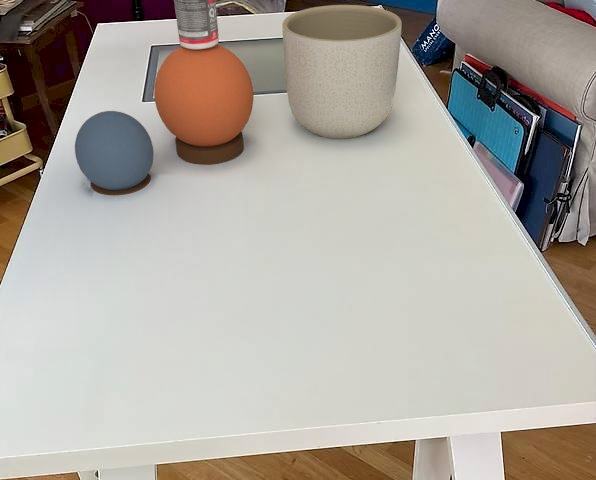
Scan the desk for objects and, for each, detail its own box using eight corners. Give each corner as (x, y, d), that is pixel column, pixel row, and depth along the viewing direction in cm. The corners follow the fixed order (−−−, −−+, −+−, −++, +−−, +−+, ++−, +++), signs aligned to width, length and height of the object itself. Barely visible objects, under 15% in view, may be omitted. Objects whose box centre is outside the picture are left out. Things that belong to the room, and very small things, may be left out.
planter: (414, 137, 109) (423, 30, 99) (309, 157, 105) (307, 47, 95) (367, 98, 121) (371, -2, 111) (271, 114, 117) (266, 13, 107)
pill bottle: (222, 48, 96) (215, -35, 90) (182, 52, 96) (171, -31, 89) (216, 35, 100) (208, -45, 94) (177, 39, 99) (167, -41, 93)
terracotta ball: (150, 167, 104) (131, 59, 94) (180, 127, 114) (166, 26, 104) (244, 173, 102) (235, 63, 92) (266, 132, 112) (260, 29, 102)
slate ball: (74, 208, 96) (52, 128, 88) (103, 174, 103) (85, 97, 96) (145, 214, 94) (129, 132, 87) (169, 179, 101) (157, 100, 94)
